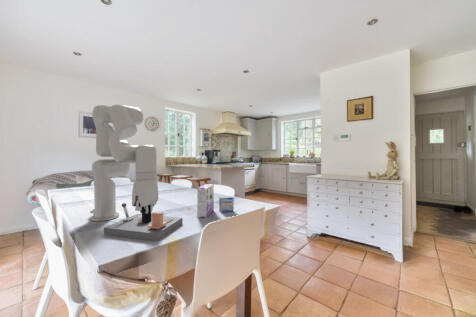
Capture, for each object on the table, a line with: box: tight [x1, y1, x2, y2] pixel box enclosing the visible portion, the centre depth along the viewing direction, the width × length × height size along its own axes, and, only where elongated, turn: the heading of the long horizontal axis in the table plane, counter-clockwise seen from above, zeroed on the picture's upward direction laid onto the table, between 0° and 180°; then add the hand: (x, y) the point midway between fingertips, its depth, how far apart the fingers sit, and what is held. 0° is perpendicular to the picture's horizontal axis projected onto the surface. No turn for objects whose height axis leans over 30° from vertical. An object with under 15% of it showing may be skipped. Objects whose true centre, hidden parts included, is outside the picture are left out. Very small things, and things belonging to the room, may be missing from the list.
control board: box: [103, 213, 183, 242], centre depth 90 cm, size 26×20×4 cm
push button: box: [138, 215, 142, 223], centre depth 90 cm, size 5×5×2 cm
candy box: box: [197, 183, 215, 219], centre depth 113 cm, size 14×6×16 cm, turn 172°
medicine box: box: [218, 195, 235, 214], centre depth 119 cm, size 8×4×9 cm, turn 114°
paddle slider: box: [148, 211, 167, 229], centre depth 84 cm, size 5×6×6 cm
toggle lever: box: [121, 202, 130, 219], centre depth 93 cm, size 2×2×7 cm
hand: (146, 222), depth 77 cm, fingers closed
